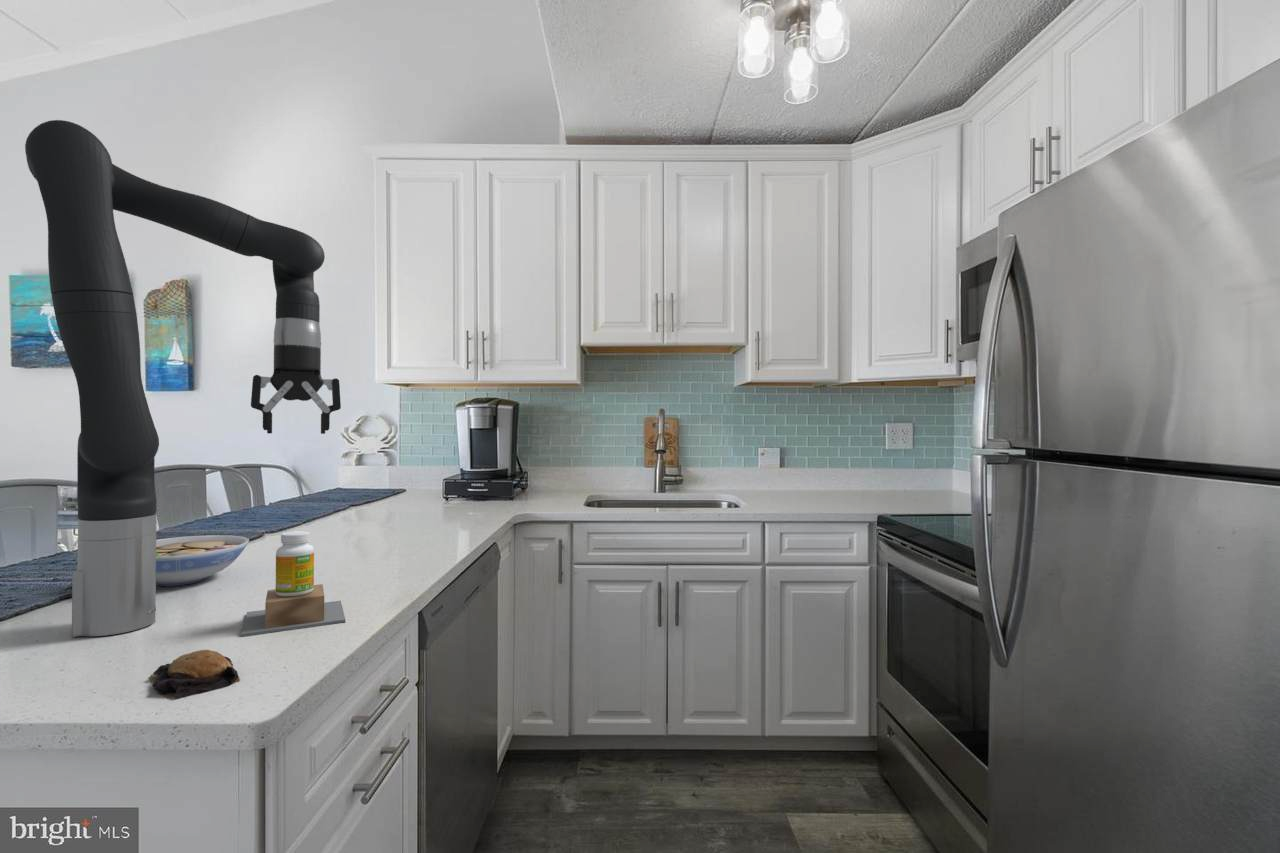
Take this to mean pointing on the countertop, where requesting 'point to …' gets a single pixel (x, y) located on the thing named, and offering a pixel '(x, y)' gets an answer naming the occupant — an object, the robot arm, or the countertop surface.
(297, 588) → the supplement bottle
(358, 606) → the countertop surface
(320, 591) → the walnut block
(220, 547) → the ramen bowl
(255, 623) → the mat
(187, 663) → the bread roll
